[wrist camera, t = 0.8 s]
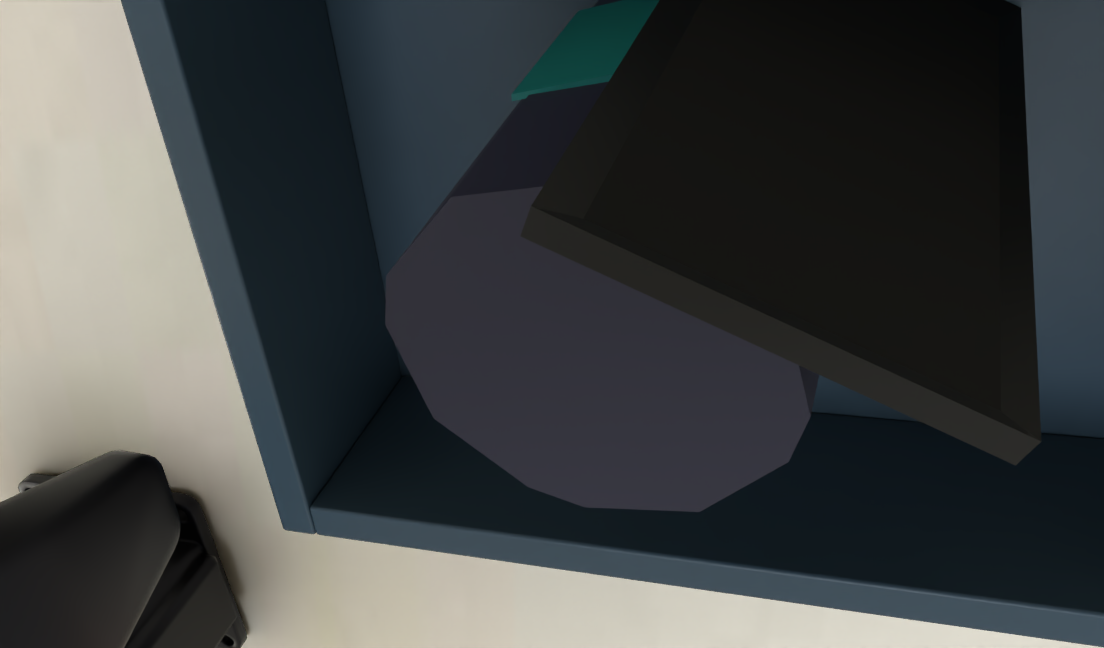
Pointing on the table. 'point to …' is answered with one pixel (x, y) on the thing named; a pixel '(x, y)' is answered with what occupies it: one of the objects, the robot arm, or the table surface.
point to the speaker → (733, 245)
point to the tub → (487, 489)
